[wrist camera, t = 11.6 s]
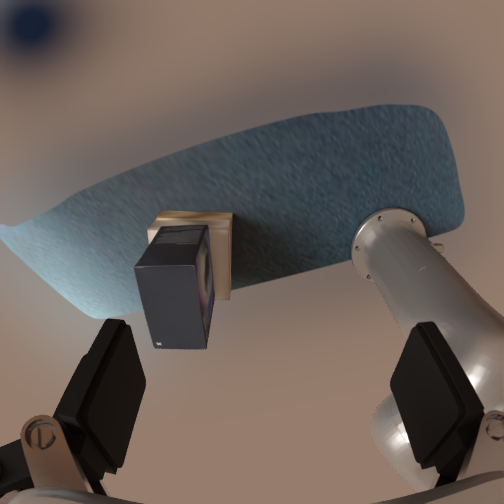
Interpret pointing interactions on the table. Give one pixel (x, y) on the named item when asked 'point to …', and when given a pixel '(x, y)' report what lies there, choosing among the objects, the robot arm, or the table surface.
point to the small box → (177, 287)
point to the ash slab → (219, 250)
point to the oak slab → (196, 217)
